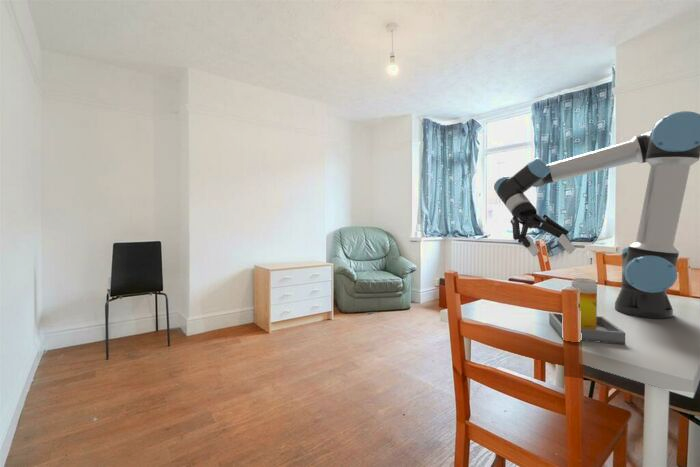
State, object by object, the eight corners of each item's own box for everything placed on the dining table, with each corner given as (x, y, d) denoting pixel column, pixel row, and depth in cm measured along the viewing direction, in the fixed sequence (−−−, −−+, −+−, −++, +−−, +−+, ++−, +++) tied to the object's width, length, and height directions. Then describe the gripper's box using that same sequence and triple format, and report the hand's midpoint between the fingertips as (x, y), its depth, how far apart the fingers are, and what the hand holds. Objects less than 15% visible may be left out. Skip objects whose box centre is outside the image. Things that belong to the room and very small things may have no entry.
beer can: (601, 332, 93) (602, 281, 92) (583, 334, 92) (583, 282, 91) (583, 325, 99) (584, 277, 98) (566, 326, 98) (566, 278, 97)
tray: (602, 326, 100) (603, 316, 100) (625, 344, 86) (625, 333, 86) (549, 322, 105) (549, 312, 105) (562, 338, 91) (562, 327, 91)
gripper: (544, 214, 124) (579, 257, 110) (486, 217, 120) (515, 261, 105) (555, 200, 119) (594, 242, 104) (495, 202, 114) (526, 247, 100)
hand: (554, 252), depth 105 cm, fingers open, 13 cm apart
